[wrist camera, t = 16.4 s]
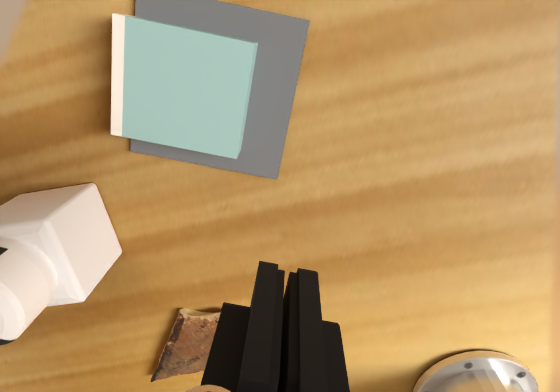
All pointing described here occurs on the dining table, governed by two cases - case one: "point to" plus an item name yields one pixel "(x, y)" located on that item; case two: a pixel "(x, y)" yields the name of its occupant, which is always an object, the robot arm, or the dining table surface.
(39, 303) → the medicine bottle
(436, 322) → the dining table surface
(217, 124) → the slab
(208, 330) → the shard
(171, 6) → the mat
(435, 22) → the dining table surface
